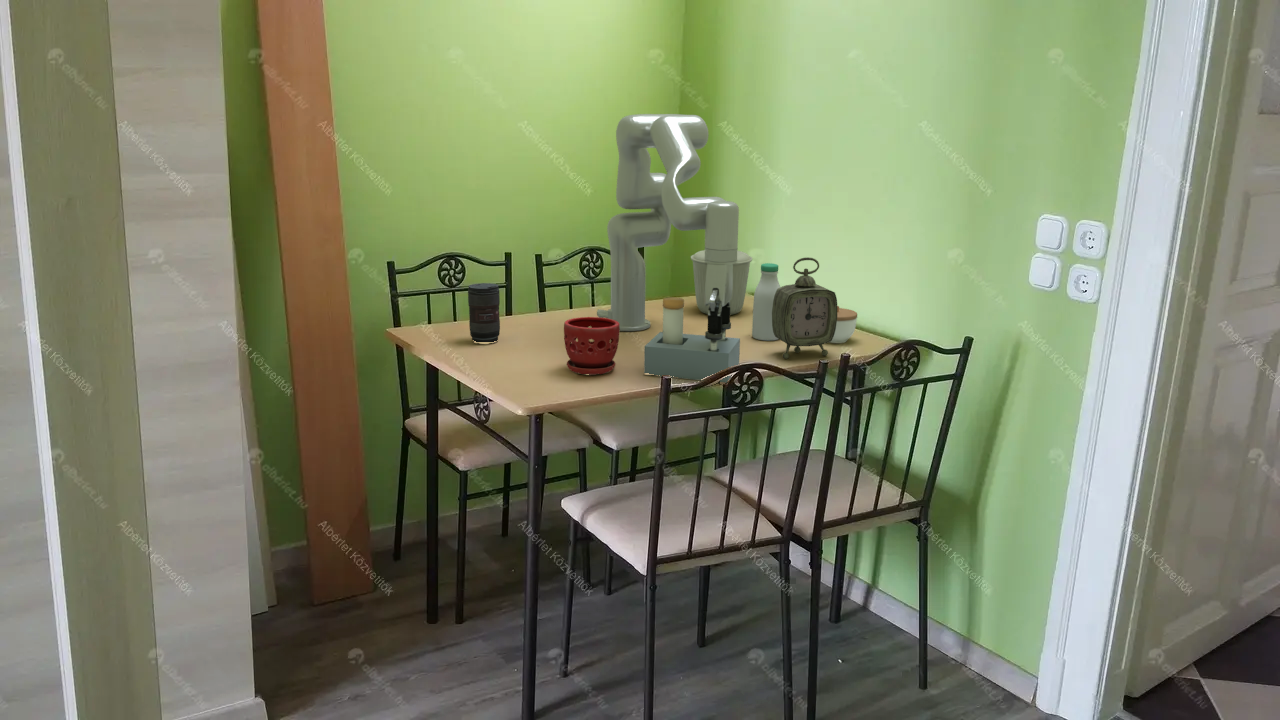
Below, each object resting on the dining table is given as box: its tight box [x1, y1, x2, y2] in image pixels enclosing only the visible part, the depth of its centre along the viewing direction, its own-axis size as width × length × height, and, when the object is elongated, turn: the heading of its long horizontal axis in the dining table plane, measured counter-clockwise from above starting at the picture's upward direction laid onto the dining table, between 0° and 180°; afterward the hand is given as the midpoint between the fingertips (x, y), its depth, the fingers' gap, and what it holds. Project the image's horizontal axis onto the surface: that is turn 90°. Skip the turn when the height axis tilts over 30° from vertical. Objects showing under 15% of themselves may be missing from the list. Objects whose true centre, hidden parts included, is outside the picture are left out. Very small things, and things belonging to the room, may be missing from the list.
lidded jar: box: [828, 305, 858, 344], centre depth 266 cm, size 11×11×9 cm
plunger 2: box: [720, 321, 732, 341], centre depth 240 cm, size 4×4×7 cm
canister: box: [690, 249, 753, 316], centre depth 294 cm, size 18×18×21 cm
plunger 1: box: [704, 330, 723, 351], centre depth 231 cm, size 4×4×7 cm
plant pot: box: [563, 316, 621, 376], centre depth 237 cm, size 13×13×12 cm
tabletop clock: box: [772, 256, 838, 360], centre depth 250 cm, size 14×9×25 cm, turn 106°
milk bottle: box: [751, 262, 781, 342], centre depth 267 cm, size 8×8×20 cm
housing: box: [643, 331, 741, 384], centre depth 238 cm, size 20×14×7 cm
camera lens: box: [467, 282, 501, 342], centre depth 261 cm, size 8×8×15 cm
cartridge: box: [662, 296, 685, 345], centre depth 238 cm, size 5×5×14 cm
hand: (718, 327), depth 234 cm, fingers open, 9 cm apart
